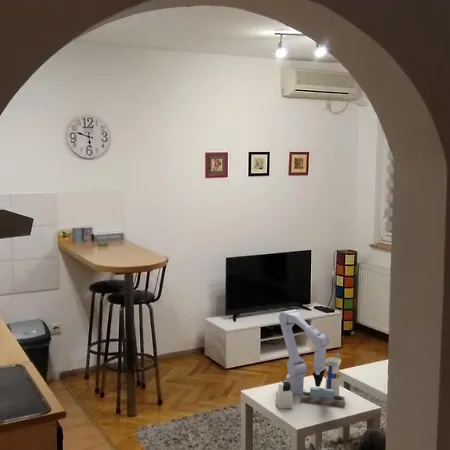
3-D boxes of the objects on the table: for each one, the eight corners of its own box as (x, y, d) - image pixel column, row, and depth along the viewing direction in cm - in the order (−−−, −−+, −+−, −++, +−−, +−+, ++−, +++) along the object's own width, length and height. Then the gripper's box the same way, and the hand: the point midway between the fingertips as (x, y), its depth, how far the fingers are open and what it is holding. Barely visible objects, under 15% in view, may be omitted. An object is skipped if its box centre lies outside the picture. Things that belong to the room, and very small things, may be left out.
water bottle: (343, 394, 325) (345, 349, 322) (334, 399, 319) (336, 352, 316) (330, 390, 331) (332, 345, 328) (321, 394, 325) (323, 349, 322)
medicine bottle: (288, 402, 314) (289, 379, 312) (292, 408, 307) (293, 385, 305) (275, 402, 312) (276, 380, 311) (278, 408, 305) (279, 385, 304)
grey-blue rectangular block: (309, 399, 315) (310, 388, 315) (310, 397, 318) (311, 386, 317) (333, 402, 312) (333, 391, 311) (333, 400, 315) (334, 389, 314)
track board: (299, 401, 314) (300, 396, 314) (302, 396, 322) (302, 390, 322) (343, 407, 308) (343, 402, 308) (344, 401, 316) (344, 396, 315)
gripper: (326, 363, 304) (324, 389, 305) (329, 354, 318) (328, 379, 319) (311, 362, 306) (310, 387, 307) (315, 353, 320) (314, 378, 321)
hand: (318, 383), depth 313 cm, fingers open, 7 cm apart
